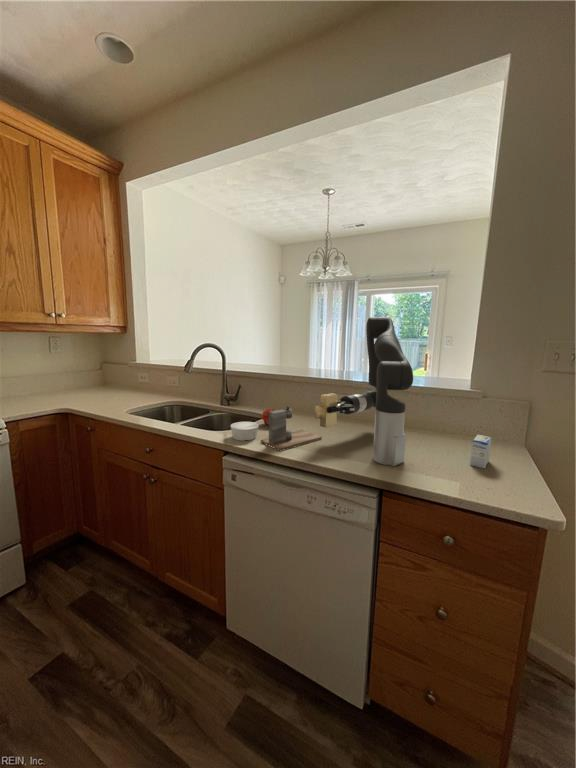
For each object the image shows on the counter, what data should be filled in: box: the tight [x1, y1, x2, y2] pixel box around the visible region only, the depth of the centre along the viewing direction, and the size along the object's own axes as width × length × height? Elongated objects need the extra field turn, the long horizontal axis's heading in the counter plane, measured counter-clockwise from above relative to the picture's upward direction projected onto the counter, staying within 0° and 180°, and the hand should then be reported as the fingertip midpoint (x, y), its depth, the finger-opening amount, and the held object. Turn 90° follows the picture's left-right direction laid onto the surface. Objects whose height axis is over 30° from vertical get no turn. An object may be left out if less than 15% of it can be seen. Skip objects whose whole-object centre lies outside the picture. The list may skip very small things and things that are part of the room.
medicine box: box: [469, 434, 493, 469], centre depth 105 cm, size 8×4×9 cm, turn 141°
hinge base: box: [260, 405, 323, 451], centre depth 124 cm, size 12×22×14 cm, turn 131°
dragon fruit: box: [260, 407, 276, 426], centre depth 146 cm, size 8×8×12 cm
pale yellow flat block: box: [314, 392, 338, 429], centre depth 120 cm, size 3×10×12 cm, turn 131°
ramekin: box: [230, 421, 259, 441], centre depth 128 cm, size 11×11×5 cm
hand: (324, 409), depth 119 cm, fingers closed on pale yellow flat block, 3 cm apart
